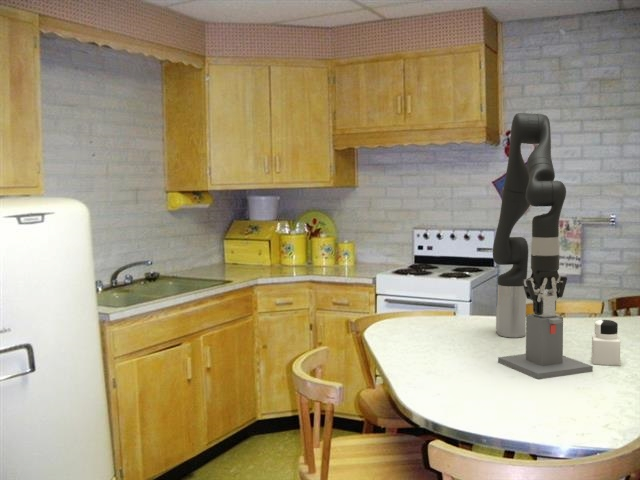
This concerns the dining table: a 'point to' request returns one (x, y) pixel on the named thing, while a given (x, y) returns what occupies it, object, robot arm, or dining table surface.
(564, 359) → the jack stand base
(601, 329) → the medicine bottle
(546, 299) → the steel column
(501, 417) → the dining table surface
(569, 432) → the dining table surface
